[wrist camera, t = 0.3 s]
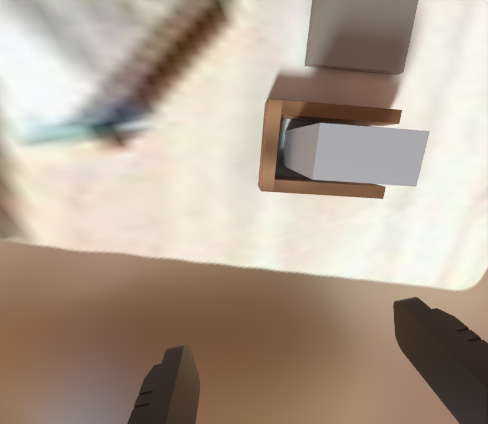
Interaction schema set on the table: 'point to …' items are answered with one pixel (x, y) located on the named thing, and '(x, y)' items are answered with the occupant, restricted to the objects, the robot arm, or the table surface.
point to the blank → (355, 153)
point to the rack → (316, 113)
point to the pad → (360, 34)
